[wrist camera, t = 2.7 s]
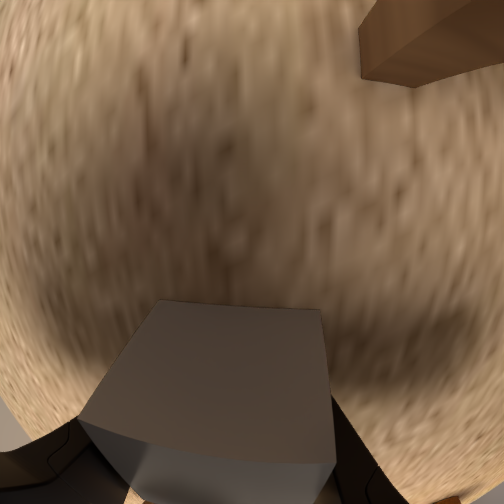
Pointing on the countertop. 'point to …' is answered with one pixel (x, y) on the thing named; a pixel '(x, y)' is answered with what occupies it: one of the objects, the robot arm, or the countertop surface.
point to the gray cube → (218, 406)
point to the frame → (430, 39)
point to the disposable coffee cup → (450, 501)
